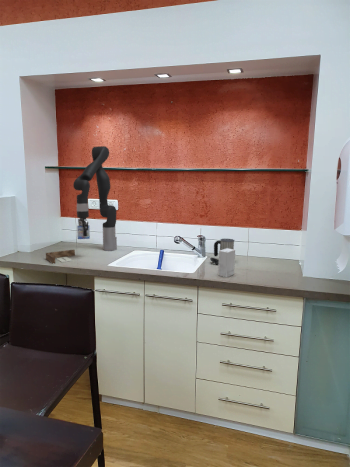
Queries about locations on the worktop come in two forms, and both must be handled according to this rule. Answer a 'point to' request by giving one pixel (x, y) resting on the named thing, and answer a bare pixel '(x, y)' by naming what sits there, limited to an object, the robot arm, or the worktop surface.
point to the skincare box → (226, 262)
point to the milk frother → (222, 247)
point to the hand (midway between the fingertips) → (83, 235)
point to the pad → (64, 259)
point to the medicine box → (80, 233)
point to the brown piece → (59, 255)
